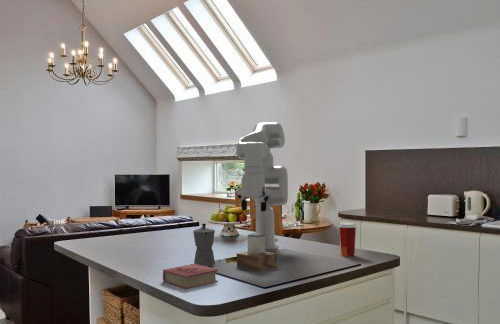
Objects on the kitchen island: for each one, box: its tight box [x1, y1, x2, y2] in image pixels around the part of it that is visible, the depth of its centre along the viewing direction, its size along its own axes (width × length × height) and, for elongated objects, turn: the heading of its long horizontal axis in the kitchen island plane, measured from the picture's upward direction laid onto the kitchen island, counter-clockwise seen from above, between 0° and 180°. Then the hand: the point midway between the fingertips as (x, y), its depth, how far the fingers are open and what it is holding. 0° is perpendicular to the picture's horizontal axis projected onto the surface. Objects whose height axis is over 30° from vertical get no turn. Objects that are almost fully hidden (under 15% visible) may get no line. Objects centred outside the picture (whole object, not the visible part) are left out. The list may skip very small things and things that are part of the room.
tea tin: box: [247, 232, 266, 255], centre depth 197 cm, size 5×5×8 cm
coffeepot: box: [193, 223, 216, 267], centre depth 202 cm, size 15×9×18 cm, turn 13°
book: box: [162, 263, 219, 290], centre depth 173 cm, size 14×15×5 cm
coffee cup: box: [337, 222, 357, 258], centre depth 219 cm, size 8×8×15 cm
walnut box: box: [236, 250, 278, 272], centre depth 196 cm, size 12×12×6 cm
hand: (253, 210), depth 200 cm, fingers open, 9 cm apart
